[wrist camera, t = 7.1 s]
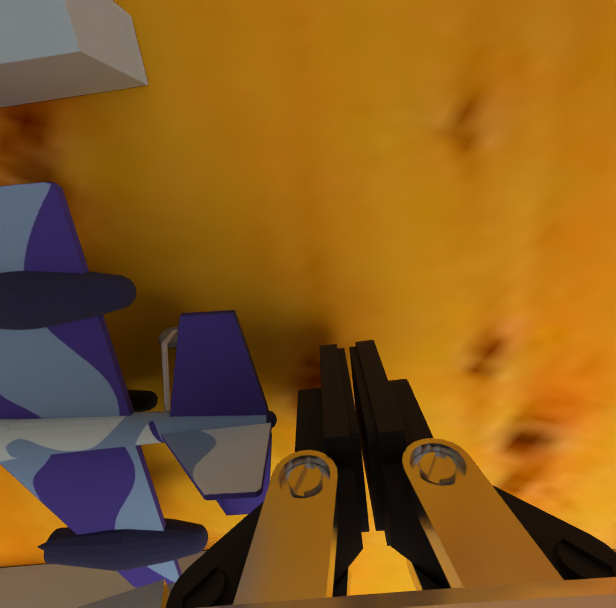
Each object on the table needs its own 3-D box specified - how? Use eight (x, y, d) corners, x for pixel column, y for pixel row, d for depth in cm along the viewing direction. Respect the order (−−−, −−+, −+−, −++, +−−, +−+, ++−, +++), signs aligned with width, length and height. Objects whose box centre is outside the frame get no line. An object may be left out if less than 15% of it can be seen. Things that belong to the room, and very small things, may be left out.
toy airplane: (-159, 401, 13) (-320, 482, 10) (20, 82, 9) (-138, 36, 6) (141, 563, 16) (99, 665, 13) (361, 374, 13) (381, 449, 9)
